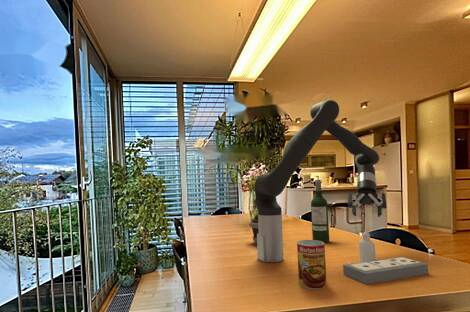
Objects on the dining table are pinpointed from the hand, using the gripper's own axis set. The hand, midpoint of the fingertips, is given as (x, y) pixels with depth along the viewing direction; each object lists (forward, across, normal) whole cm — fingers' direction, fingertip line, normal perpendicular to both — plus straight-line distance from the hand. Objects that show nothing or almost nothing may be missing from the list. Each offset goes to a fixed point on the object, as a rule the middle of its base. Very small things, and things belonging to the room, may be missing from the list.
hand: (366, 215), depth 118 cm
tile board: (+26, +6, -4) cm, 27 cm away
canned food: (+39, -13, -16) cm, 44 cm away
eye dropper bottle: (+19, 0, +3) cm, 20 cm away
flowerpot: (+4, -47, +18) cm, 50 cm away
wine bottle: (-5, -23, +27) cm, 36 cm away
